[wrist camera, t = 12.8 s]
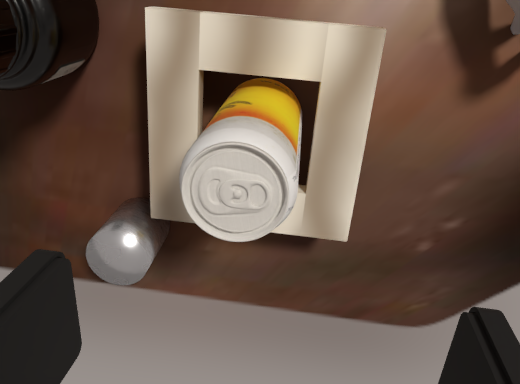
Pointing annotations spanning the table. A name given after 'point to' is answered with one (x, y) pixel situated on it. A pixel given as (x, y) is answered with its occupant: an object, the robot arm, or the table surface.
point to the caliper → (519, 4)
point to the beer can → (245, 163)
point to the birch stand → (272, 65)
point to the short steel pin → (127, 243)
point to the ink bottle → (44, 39)
